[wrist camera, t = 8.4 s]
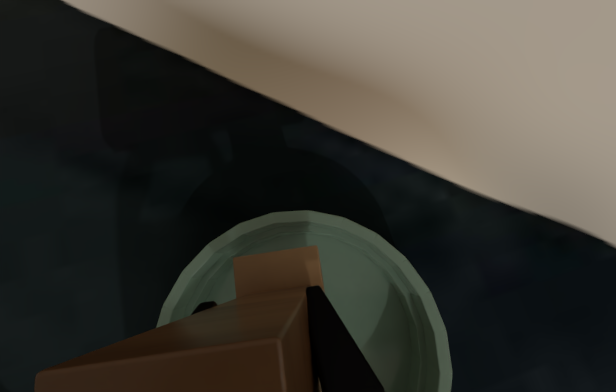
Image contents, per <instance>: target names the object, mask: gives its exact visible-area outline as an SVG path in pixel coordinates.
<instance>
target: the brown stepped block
mask: <svg viewBox="0 0 616 392" xmlns="http://www.w3.org/2000/svg"><path fill="white" fill-rule="evenodd" d="M233 268H234V280H235V291H236V299H233V300H231V301H228V302H225V303H222V304H220V305H217V306H214V307H212V308H209V309H206V310H204V311H201V312H198V313H195V314H193V315H190V316H187V317H185V318H182V319H179V320H177V321H174V322H171V323H168V324H166V325H163V326H160V327H158V328H155V329H152V330H150V331H147V332H144V333H141V334H139V335H136V336H133V337H131V338H128V339H125V340H122V341H120V342H117V343H114V344H112V345H109V346H106V347H104V348H101V349H98V350H95V351H93V352H90V353H87V354H85V355H82V356H79V357H77V358H74V359H71V360H68V361H66V362H63V363H60V364H58V365H55V366H52V367H50V368H47V369H44V370H42V371H40V372H39V373H38V374H37V375H36V377H35V389H34V392H322V389H321V385H320V381H319V376H318V372H317V367H316V362H315V358H314V353H313V349H312V344H311V339H310V335H309V325H308V309H307V295H306V287H309V286H316V285H319V286H320V287H321V288H322V290H323V291H324V293H325V290H324V283H323V276H322V270H321V263H320V256H319V250H318V247H317V245H314V246H307V247H300V248H294V249H287V250H280V251H273V252H267V253H260V254H253V255H247V256H240V257H234V258H233Z"/></svg>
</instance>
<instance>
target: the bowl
mask: <svg viewBox="0 0 616 392" xmlns="http://www.w3.org/2000/svg"><path fill="white" fill-rule="evenodd" d="M314 245H317V247H318V250H319V256H320V263H321V270H322V276H323V283H324V290H325V295H326V296H327V298H328V299H329V301H330V303H331V304H332V306H333V307H334V309H335V311H336V312H337V314H338V315H339V317H340V319H341V320H342V322H343V323H344V325H345V327H346V328H347V330H348V331H349V333H350V335H351V336H352V338H353V339H354V341H355V343H356V344H357V346H358V347H359V349H360V351H361V352H362V354H363V355H364V357H365V359H366V360H367V362H368V363H369V365H370V367H371V368H372V370H373V371H374V373H375V375H376V376H377V378H378V379H379V381H380V382H381V384H382V386H383V387H384V391H386V392H451V384H452V366H451V359H450V352H449V345H448V338H447V331H446V328H445V326H444V323H443V321H442V318H441V316H440V313H439V311H438V308H437V306H436V303H435V301H434V298H433V296H432V293H431V292H430V290H429V288H428V287H427V285H426V284H425V283H424V281H423V280H422V279H421V277H420V276H419V274H418V273H417V272H416V270H415V269H414V267H413V266H412V265H411V263H410V262H409V261H408V259H406V257H405V256H404V255H403V254H401V253H400V252H399V251H398V250H397V249H395V248H394V247H393V246H392V245H391V244H389V243H388V242H387V241H386V240H385V239H384V238H382V237H381V236H380V235H379V234H377V233H376V232H374V231H372V230H370V229H368V228H365V227H363V226H361V225H359V224H357V223H355V222H353V221H351V220H349V219H347V218H343V217H341V216H336V215H331V214H326V213H321V212H316V211H311V210H309V211H308V210H302V211H286V212H274V213H269V214H266V215H263V216H260V217H257V218H254V219H251V220H248V221H245V222H242V223H240V224H238V225H236V226H234V227H233V228H231V229H230V230H228V231H227V232H225V233H224V234H222V235H221V236H219V237H217V238H216V239H214V240H213V241H211V242H210V243H209V244H208V245H206V246H205V247H204V248H203V250H202V251H201V252H200V253H199V254H198V255H197V256H196V257H195V258H194V259H193V260H192V261H191V262H190V263H189V265H188V266H187V267H186V268H185V269H184V270H183V272H182V273H181V274H180V276H179V278H178V279H177V281H176V283H175V285H174V286H173V288H172V290H171V292H170V294H169V295H168V297H167V299H166V301H165V302H164V304H163V307H162V309H161V313H160V316H159V320H158V323H157V327H156V328H158V327H160V326H163V325H166V324H168V323H171V322H174V321H177V320H179V319H182V318H185V317H187V316H190V315H191V314H192V312H193V311H194V310H195V309H196V307H197V306H198V305H199V304H200V303H202V302H208V301H215V302H216V303H217V305H220V304H222V303H225V302H228V301H231V300H233V299H236V291H235V280H234V268H233V258H234V257H240V256H247V255H253V254H260V253H267V252H273V251H280V250H287V249H294V248H300V247H307V246H314Z"/></svg>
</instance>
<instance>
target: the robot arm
mask: <svg viewBox="0 0 616 392" xmlns="http://www.w3.org/2000/svg"><path fill="white" fill-rule="evenodd" d="M306 295H307V309H308V325H309V335H310V339H311V344H312V349H313V353H314V358H315V362H316V367H317V372H318V376H319V381H320V385H321V389H322V392H386V391H384V387H383V386H382V384H381V382H380V381H379V379H378V378H377V376H376V375H375V373H374V371H373V370H372V368H371V367H370V365H369V363H368V362H367V360H366V359H365V357H364V355H363V354H362V352H361V351H360V349H359V347H358V346H357V344H356V343H355V341H354V339H353V338H352V336H351V335H350V333H349V331H348V330H347V328H346V327H345V325H344V323H343V322H342V320H341V319H340V317H339V315H338V314H337V312H336V311H335V309H334V307H333V306H332V304H331V303H330V301H329V299H328V298H327V296H326V295H325V293H324V291H323V290H322V288H321V287H320V286H319V285H316V286H309V287H306ZM214 306H217V303H216V302H215V301H208V302H202V303H200V304H199V305H198V306H197V307H196V309H195V310H194V311H193V312H192V314H191V315H193V314H195V313H198V312H201V311H204V310H206V309H209V308H212V307H214Z"/></svg>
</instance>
